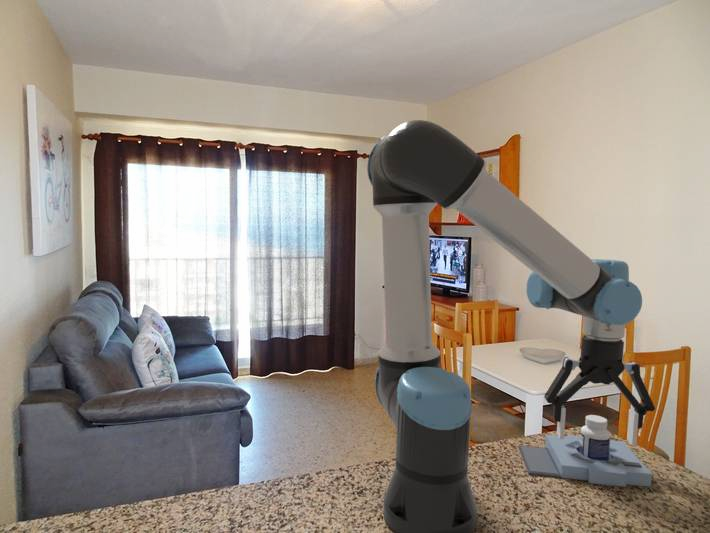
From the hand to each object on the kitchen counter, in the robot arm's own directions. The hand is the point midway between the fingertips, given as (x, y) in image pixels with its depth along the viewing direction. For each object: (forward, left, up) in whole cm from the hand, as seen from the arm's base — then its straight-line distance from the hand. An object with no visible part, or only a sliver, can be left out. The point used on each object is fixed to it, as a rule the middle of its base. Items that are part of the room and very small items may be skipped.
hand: (595, 439), depth 99 cm
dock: (0, 0, -5) cm, 5 cm away
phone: (-11, -1, -6) cm, 12 cm away
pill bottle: (0, 0, -5) cm, 5 cm away
